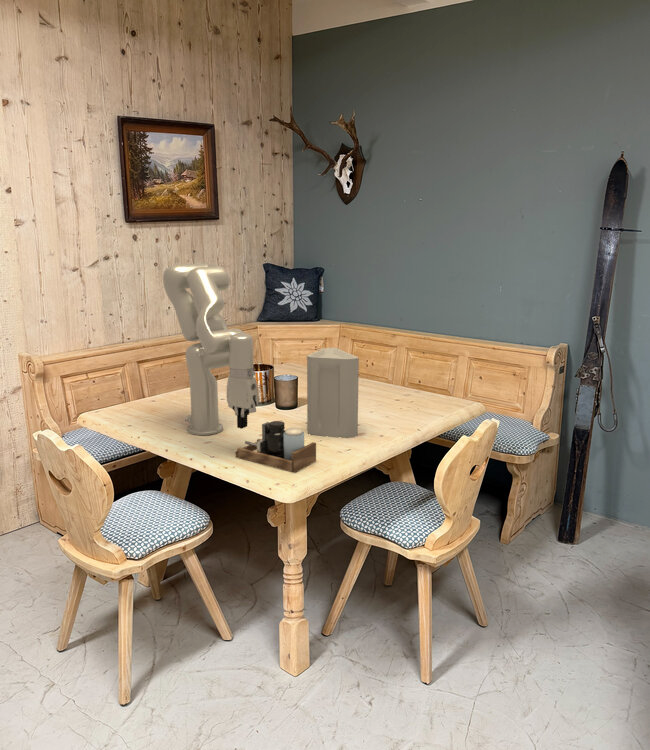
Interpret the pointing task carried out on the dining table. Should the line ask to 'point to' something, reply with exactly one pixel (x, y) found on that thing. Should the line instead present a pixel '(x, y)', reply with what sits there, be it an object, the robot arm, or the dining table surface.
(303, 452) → the brown wooden open box
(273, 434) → the supplement bottle
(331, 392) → the grey corner cabinet
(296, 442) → the blue jar
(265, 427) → the pusher
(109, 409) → the dining table surface
